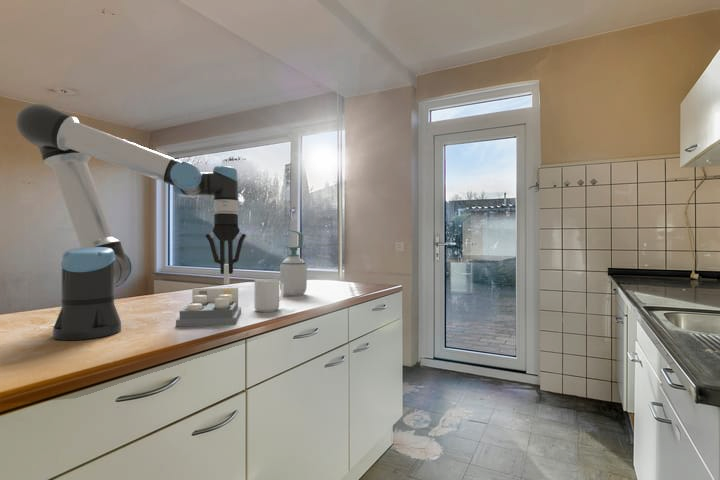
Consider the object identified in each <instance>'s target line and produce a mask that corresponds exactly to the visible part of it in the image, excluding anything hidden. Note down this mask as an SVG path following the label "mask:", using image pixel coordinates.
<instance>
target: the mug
mask: <svg viewBox="0 0 720 480" xmlns="http://www.w3.org/2000/svg"><path fill="white" fill-rule="evenodd" d="M280 284H281V290H280ZM284 296H285V295H284V283H280V279H279V278H276V279H275V278H260V279H254V299H253V300H254V306H253V307H254V309H255V311H257V312H259V313H271V312H277V310H278V309H279V308H280V302H281V300H283V298H284Z"/></svg>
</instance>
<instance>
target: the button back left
mask: <svg viewBox="0 0 720 480" xmlns="http://www.w3.org/2000/svg"><path fill="white" fill-rule="evenodd" d="M194 303H200V304H202V306H204V305H207V295H195V296H193V304H194Z"/></svg>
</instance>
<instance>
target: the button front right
mask: <svg viewBox="0 0 720 480" xmlns="http://www.w3.org/2000/svg"><path fill="white" fill-rule="evenodd" d="M215 309H229V298H217V299H215Z"/></svg>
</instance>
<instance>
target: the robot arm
mask: <svg viewBox="0 0 720 480" xmlns="http://www.w3.org/2000/svg"><path fill="white" fill-rule="evenodd" d="M15 121H16V122H15V123H16V124H15V125H16V128H17V131H18V132H19V134H20V135H21V136H22V137H23V139H24V140H25V141H27V142H29V143H30V144H32V145H34V146H36V147H37V148H38V151H39V152H40V155H41V159H42V161H43V163H44V164H45V165H47V166H48V167H51V169H52V170H53V173H54V176H55V178H56V180H57V181H56V182H57V183H58V188H59V190H60V193H61V195H62V199H63V200H64V203H65V206H66V209H67V212H68V215H69V217H70V221H71V223H72V226H73V228H74V232H75V235H76V237H77V239H78V242H79V243H78V244H79V246H78V247H75V248H71V249H68V250H65V251H64V252H63V254H62V257H61V262H60V266H61V308H60V310H59V313H58V315H57V318H56V321H55V324H54V326H53V327H52V338H53V339H54V340H59V341H79V340H80V341H81V340H89V339H97V338H103V337H106V336H110V335H114V334H117V333H119V332H121V331H122V321H121V318H120V315H119V313H118V309H117V308H116V305H115V288H118V287H120V286H121V285H123V284H124V283H125V282H127V280H128V279H129V278H130V277H131V275H132V272H133V268H134V267H133V261H132V259H131V258H130V256H129V255H128V254H127V253H125V251H124V247H123V245H122V243H121V240H119V239H117V238H115V237H114V236H113V234H112V231H111V228H110V224H109V222H108V218H107V215H106V214H105V211H104V208H103V205H102V202H101V199H100V197H99V194H98V190H97V188H96V185H95V182H94V179H93V176H92V173H91V170H90V167H89V164H88V163H89V161H90V160H91V159H92V158H95V159H97V160H101V161H103V162H106V163H109V164H111V165H115V166H117V167H120V168H122V169H126V170H129V171H131V172H134V173H137V174H141V175H142V176H146V177H149V178H150V179H154V180H157V181H160V182H162V183H165V184H168V185H171V186H172V189H173V191H174V193H175V194H176V195H182V196H183V195H184V196H213V212H214V215H213V216H214V217H213V219H214V220H213V221H214V222H213V223H214V224H213V228H212V231H210V233H207V234H205V238H206V239H207V240H208V243H209V246H210V250H211V254H212V257H213V260H214V261H213V262H215V263H217V264H219V267H220V268H219V269H220V274H221V275H223V285H229V284H231V283H230V281H231V279H230V278H231V276H230V275H232V274H233V273H234V264H235V263H238V262H239V260H240V255H241V252H242V247H243V244H244V240H245V238H246V237H247V234H246V233H243V232H241V229H240V228H239V215H238V214H237V213H238V211H239V203H238V202H239V201H238V197H239V195H238V193H239V191H238V188H239V186H238V184H239V183H238V170H237V169H236V168H235V167H233V166H228V165H217V166H214V167H213V171H211V172H206V171H205V172H203V171H202V172H201V171H200V170H199V168H198V166H196V164H194V163H191V162H189V161H181V160H179V159H175V158H174V157H171V156H169V155H165V154H163V153H160V152H157V151H155V150H152V149H149V148H148V147H144V146H141V145H139V144H137V143H135V142H131V141H128V140H127V139H123V138H120V137H117V136H115V135H113V134H110V133H108V132H105V131H102V130H100V129H96V128H94V127H91V126H89V125H86V124H85V123H81V122H80V121H79V119H78V118H77V117H75V116H73V115H70V114H68V113H66V112H63V111H61V110H59V109H57V108H55V107H53V106H51V105H47V104H43V103H35V104H29V105H26V106H25V107H23V108H22V109H20V111H19V112H18V113H17V116H16V120H15ZM237 236H238V242H237V246H236V249H235V250H236V251H235V255H234V240H235V239H236V238H237ZM215 237H216V238H217V240H219V254H218V251H217V250H218V249H217V245H216V243H215V242H216V241H215V240H214V239H215ZM226 241H227V246H228V247H227V248H228V249H227V251H228V253H227V254H228V255H227V256H228V257H227V259H228V260H227V261H228V263H226ZM219 255H220V256H219Z"/></svg>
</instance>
